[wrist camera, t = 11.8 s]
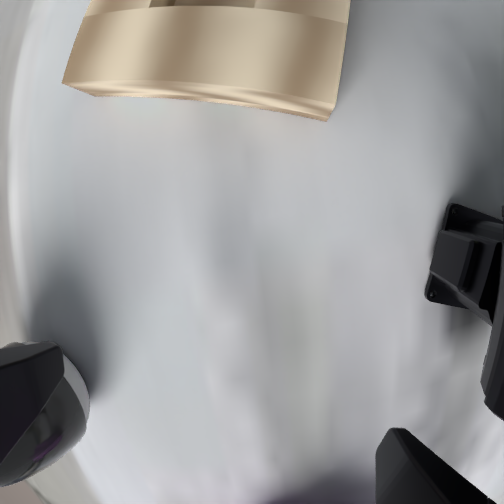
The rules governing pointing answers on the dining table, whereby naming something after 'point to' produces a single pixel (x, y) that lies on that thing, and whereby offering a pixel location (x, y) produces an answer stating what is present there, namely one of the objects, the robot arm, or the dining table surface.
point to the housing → (214, 52)
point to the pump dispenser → (49, 428)
